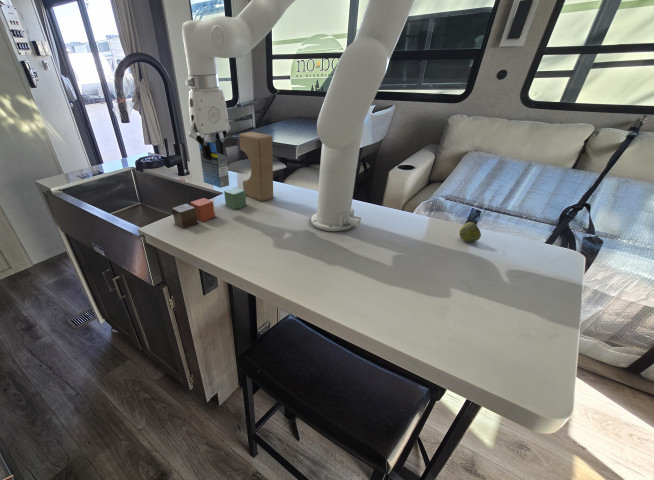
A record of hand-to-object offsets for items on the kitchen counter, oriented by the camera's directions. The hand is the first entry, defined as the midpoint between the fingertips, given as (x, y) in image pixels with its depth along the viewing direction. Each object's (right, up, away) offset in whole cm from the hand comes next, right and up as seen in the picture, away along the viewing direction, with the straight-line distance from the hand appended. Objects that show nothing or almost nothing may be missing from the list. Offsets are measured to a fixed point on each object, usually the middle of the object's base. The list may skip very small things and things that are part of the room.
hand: (213, 157), depth 92 cm
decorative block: (+13, -5, +20) cm, 24 cm away
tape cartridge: (0, -7, +5) cm, 8 cm away
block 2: (-4, -16, +7) cm, 18 cm away
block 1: (-9, -19, +3) cm, 21 cm away
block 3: (+5, -10, +13) cm, 18 cm away
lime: (+67, -27, -12) cm, 73 cm away
